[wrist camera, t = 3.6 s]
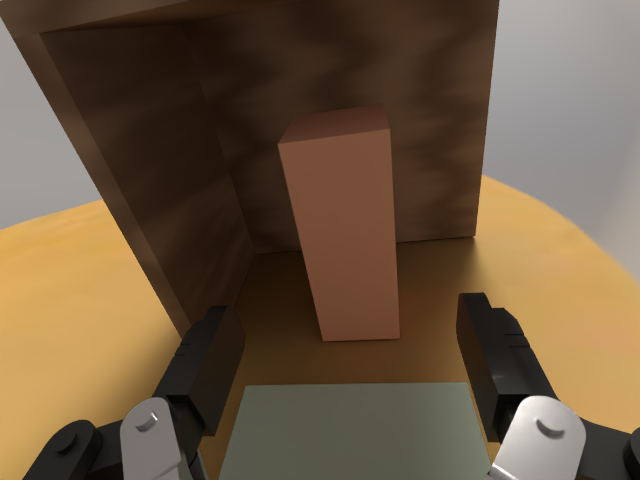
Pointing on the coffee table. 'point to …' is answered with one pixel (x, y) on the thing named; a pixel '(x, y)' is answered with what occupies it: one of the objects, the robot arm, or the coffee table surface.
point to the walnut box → (255, 117)
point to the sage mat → (356, 433)
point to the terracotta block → (345, 218)
